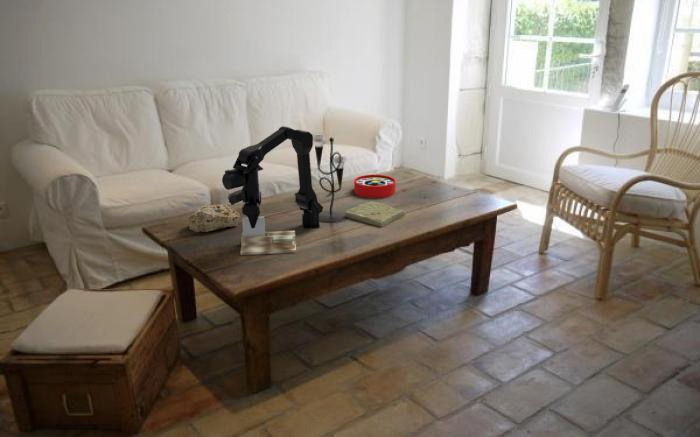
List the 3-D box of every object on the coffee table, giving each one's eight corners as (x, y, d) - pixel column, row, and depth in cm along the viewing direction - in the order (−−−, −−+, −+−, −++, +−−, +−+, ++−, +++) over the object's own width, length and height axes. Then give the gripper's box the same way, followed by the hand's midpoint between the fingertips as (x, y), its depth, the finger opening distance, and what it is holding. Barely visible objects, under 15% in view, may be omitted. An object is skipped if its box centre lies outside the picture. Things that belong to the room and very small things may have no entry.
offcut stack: (294, 243, 215) (294, 234, 214) (295, 248, 211) (294, 239, 210) (270, 245, 214) (270, 236, 213) (270, 249, 211) (269, 240, 209)
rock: (228, 218, 248) (231, 197, 243) (243, 235, 238) (246, 214, 233) (182, 223, 236) (184, 201, 231) (195, 241, 226) (197, 219, 221)
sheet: (265, 241, 218) (264, 216, 214) (265, 242, 216) (263, 217, 213) (244, 241, 217) (242, 217, 214) (243, 243, 216) (242, 218, 212)
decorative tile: (381, 228, 234) (381, 220, 233) (344, 217, 246) (344, 209, 245) (407, 216, 247) (407, 208, 246) (370, 206, 259) (370, 199, 258)
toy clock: (375, 172, 290) (404, 180, 276) (375, 183, 292) (404, 192, 278) (345, 179, 278) (374, 189, 264) (345, 191, 280) (374, 201, 266)
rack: (295, 237, 223) (294, 228, 222) (296, 252, 210) (295, 242, 209) (243, 240, 221) (242, 230, 220) (240, 255, 208) (239, 244, 207)
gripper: (230, 177, 217) (233, 216, 222) (226, 192, 199) (229, 234, 205) (260, 176, 218) (262, 214, 223) (258, 191, 200) (261, 232, 206)
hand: (253, 223), depth 214 cm, fingers open, 9 cm apart
